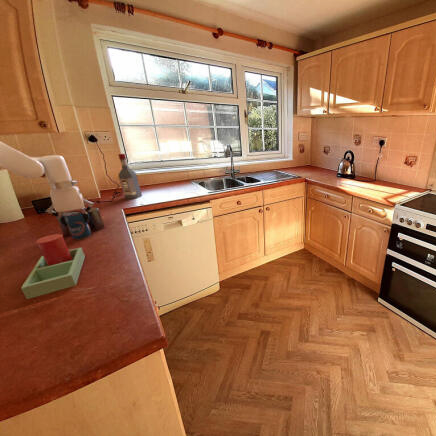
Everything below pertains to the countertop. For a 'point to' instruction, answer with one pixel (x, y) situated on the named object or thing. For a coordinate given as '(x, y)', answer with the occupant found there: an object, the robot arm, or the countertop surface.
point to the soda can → (77, 225)
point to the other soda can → (54, 249)
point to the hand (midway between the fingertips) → (77, 222)
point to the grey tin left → (64, 227)
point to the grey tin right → (95, 220)
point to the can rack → (53, 275)
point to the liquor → (128, 180)
